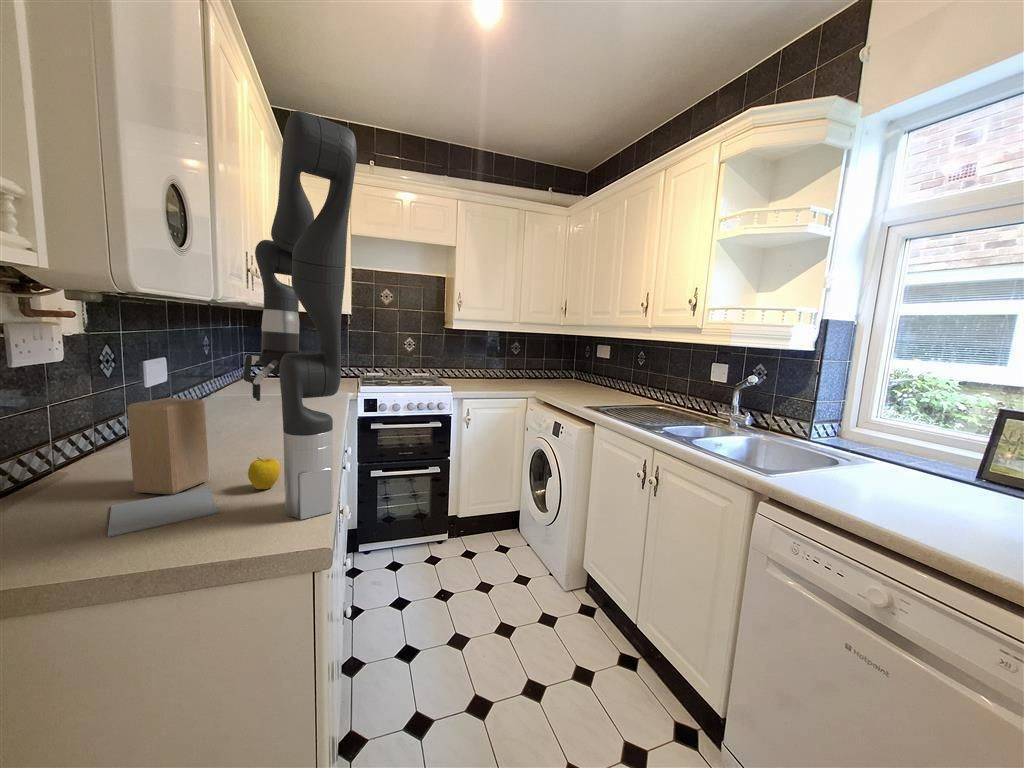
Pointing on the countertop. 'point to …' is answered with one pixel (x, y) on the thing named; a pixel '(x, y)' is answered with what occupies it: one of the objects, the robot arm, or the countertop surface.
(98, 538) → the countertop surface
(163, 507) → the mat
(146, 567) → the countertop surface
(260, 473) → the apple
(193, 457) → the block
